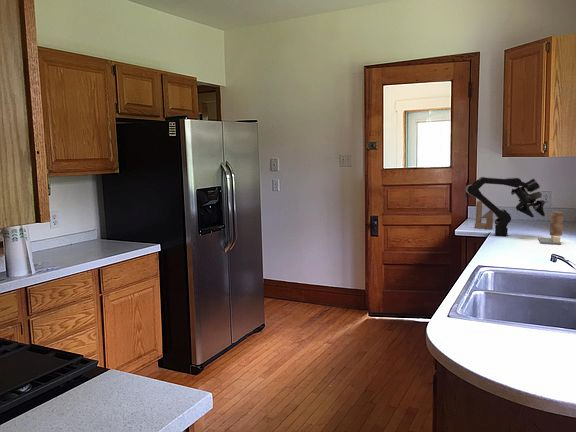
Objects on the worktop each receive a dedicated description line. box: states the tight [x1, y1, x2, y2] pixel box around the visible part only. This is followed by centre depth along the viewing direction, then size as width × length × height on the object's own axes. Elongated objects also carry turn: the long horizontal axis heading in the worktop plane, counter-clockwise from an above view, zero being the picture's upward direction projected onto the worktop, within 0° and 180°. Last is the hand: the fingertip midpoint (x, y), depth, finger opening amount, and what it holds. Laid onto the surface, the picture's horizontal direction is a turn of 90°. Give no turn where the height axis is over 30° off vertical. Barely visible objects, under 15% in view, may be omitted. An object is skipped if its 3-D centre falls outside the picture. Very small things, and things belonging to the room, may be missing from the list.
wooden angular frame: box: [474, 200, 494, 230], centre depth 328 cm, size 4×11×18 cm, turn 56°
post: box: [549, 211, 564, 237], centre depth 277 cm, size 4×4×13 cm
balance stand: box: [537, 235, 562, 246], centre depth 280 cm, size 10×16×4 cm, turn 158°
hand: (538, 216), depth 287 cm, fingers open, 9 cm apart
